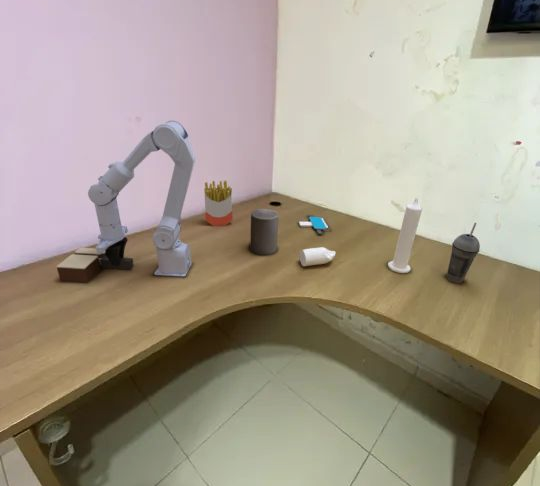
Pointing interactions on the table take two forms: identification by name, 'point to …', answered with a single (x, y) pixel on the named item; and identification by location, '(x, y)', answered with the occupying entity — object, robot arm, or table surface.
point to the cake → (78, 268)
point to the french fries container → (218, 203)
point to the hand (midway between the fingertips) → (117, 262)
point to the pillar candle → (264, 231)
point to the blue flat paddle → (316, 224)
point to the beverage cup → (462, 256)
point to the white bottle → (315, 256)
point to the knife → (124, 263)
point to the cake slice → (89, 252)
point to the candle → (406, 238)
